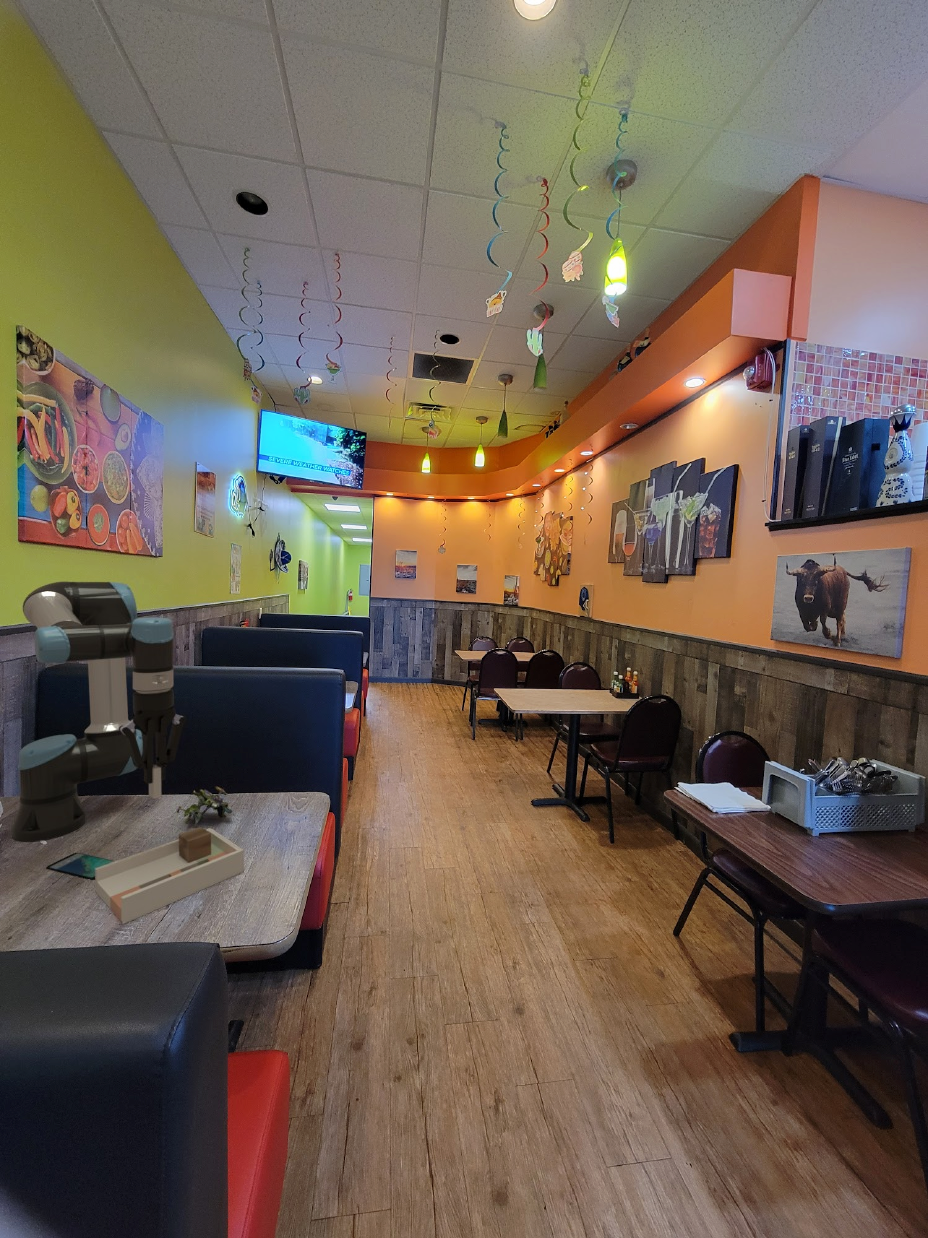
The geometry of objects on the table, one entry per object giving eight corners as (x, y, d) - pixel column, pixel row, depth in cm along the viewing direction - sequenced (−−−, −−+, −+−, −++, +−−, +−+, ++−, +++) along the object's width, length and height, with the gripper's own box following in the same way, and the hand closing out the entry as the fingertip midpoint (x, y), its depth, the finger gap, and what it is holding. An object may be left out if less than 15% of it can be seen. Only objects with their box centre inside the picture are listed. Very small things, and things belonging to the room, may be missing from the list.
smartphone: (75, 851, 123) (123, 862, 119) (75, 854, 123) (123, 865, 119) (43, 867, 116) (93, 879, 112) (44, 870, 116) (93, 882, 112)
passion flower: (220, 836, 144) (243, 805, 142) (186, 847, 134) (210, 813, 132) (200, 806, 148) (223, 775, 146) (165, 814, 138) (189, 781, 136)
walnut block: (179, 855, 119) (178, 834, 118) (201, 847, 123) (201, 826, 122) (188, 863, 115) (188, 841, 115) (211, 854, 119) (211, 833, 119)
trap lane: (95, 891, 108) (94, 868, 108) (210, 847, 127) (210, 828, 127) (123, 924, 98) (122, 899, 98) (243, 871, 117) (243, 850, 117)
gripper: (125, 697, 104) (127, 811, 105) (192, 688, 114) (193, 791, 115) (112, 691, 108) (114, 800, 110) (177, 683, 118) (179, 782, 120)
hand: (155, 796), depth 113 cm, fingers closed
